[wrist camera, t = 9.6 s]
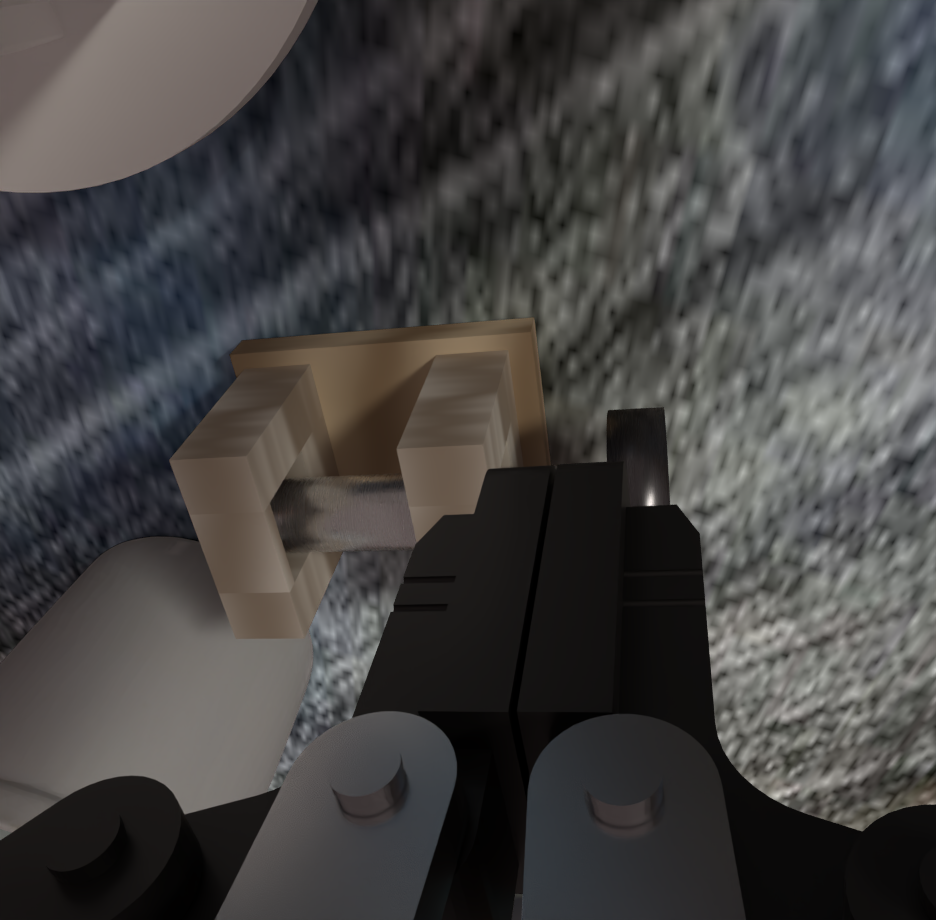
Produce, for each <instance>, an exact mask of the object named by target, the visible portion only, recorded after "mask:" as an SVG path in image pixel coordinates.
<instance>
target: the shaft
mask: <svg viewBox="0 0 936 920" xmlns="http://www.w3.org/2000/svg"><path fill="white" fill-rule="evenodd" d="M614 461H625V464H626V470H627V477H628V487H629V498H630V507H633V506H656V505H670V495H669V476H668V457H667V441H666V425H665V413H664V407H657V408H640V409H622V410H608V413H607V462H614ZM554 467H555V469H557V466H554ZM270 505H271V508H272V511H273V515H274V518H275V521H276V524H277V527H278V531H279V534H280V537H281V540H282V543H283V546H284V550H285V553H308V552H347V551H387V550H414V547H415V544H416V543H417V541H416V537H415V532H414V527H413V523H412V518H411V513H410V509H409V504H408V500H407V495H406V490H405V486H404V481H403V477H402V473H395V474H372V475H349V476H326V477H304V478H284V480H283V482H282V483H281V485H280V487H279V488H278V490H277V492H276V493H275V495H274V497H273V498H272V500H271V502H270Z"/></svg>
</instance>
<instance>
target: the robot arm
mask: <svg viewBox="0 0 936 920" xmlns="http://www.w3.org/2000/svg"><path fill="white" fill-rule="evenodd" d="M515 894H523V902H522V920H936V805H919V806H912V807H906V808H903V809H900V810H897V811H894V812H891V813H888V814H886V815H885V816H883V817H881V818H879V819H877V820H876V821H874V822H873V823H872V824H871V825H869V826H868V827H867V828H866V829H865V830H864V831H863V832H862V831H859V830H855V829H852V828H849V827H846V826H843V825H840V824H836V823H833V822H830V821H827V820H824V819H820V818H817V817H814V816H811V815H808V814H805V813H802V812H800V811H797V810H794V809H792V808H789V807H787V806H785V805H783V804H781V803H779V802H777V801H775V800H773V799H772V798H770V797H768V796H767V795H765V794H764V793H762V792H761V791H760V790H758V789H757V788H755V787H754V786H753V785H752V784H751V783H749V782H748V781H747V780H746V779H745V778H744V777H743V776H742V775H741V774H740V773H739V772H738V771H737V770H736V768H735V767H734V766H733V765H732V764H731V762H730V761H729V759H728V757H727V756H726V754H725V752H724V751H723V749H722V746H721V744H720V741H719V739H718V736H717V731H716V725H715V716H714V704H713V692H712V679H711V667H710V655H709V643H708V630H707V618H706V606H705V594H704V582H703V570H702V557H701V545H700V533H699V532H698V531H697V530H696V528H695V527H694V526H693V525H692V523H691V522H690V521H689V520H688V518H687V517H686V516H685V515H684V513H683V512H682V511H681V510H680V508H679V507H678V506H677V505H656V506H633V507H630V498H629V487H628V477H627V470H626V464H625V461H614V462H596V463H578V464H560V465H558V466H557V469H555V467H554V465H547V466H529V467H511V468H494V469H488V470H487V472H486V474H485V477H484V481H483V484H482V488H481V491H480V495H479V498H478V502H477V505H476V509H475V512H474V514H458V515H443V516H442V517H441V518H440V520H439V521H438V522H437V523H436V524H435V525H434V526H433V527H432V528H431V529H430V530H429V531H428V532H427V533H426V534H425V535H424V536H423V537H422V538H421V539H420V540H419V541H418V542H417V543H416V544H415V547H414V550H413V552H412V555H411V558H410V561H409V563H408V566H407V569H406V572H405V574H404V584H401V585H400V588H399V591H398V594H397V596H396V599H395V602H394V612H391V613H390V616H389V618H388V621H387V624H386V627H385V629H384V632H383V635H382V638H381V640H380V643H379V646H378V648H377V651H376V654H375V657H374V659H373V662H372V665H371V668H370V670H369V673H368V676H367V679H366V681H365V684H364V687H363V690H362V692H361V695H360V698H359V701H358V703H357V706H356V709H355V712H354V714H353V717H352V718H351V719H349V720H346V721H344V722H341V723H340V724H338V725H336V726H334V727H332V728H330V729H329V730H327V731H326V732H324V733H323V734H322V735H320V736H319V737H317V738H316V739H315V740H314V741H313V742H312V743H311V744H310V745H309V746H307V747H306V748H305V750H304V751H303V752H302V753H301V754H300V756H299V757H298V758H297V759H296V761H295V762H294V764H293V766H292V767H291V769H290V771H289V773H288V775H287V777H286V779H285V781H284V783H283V785H282V787H279V788H277V789H275V790H272V791H269V792H266V793H263V794H260V795H257V796H253V797H249V798H245V799H241V800H238V801H234V802H230V803H226V804H222V805H218V806H215V807H211V808H207V809H203V810H199V811H196V812H192V813H188V814H184V812H183V810H182V808H181V806H180V804H179V803H178V801H177V799H176V797H175V795H174V794H173V792H172V791H171V790H170V789H169V788H168V787H167V786H166V785H164V784H163V783H161V782H159V781H157V780H155V779H152V778H148V777H145V776H133V775H131V776H119V777H114V778H109V779H105V780H102V781H99V782H96V783H93V784H90V785H88V786H86V787H84V788H81V789H79V790H77V791H75V792H73V793H72V794H70V795H68V796H67V797H65V798H63V799H62V800H60V801H58V802H57V803H55V804H54V805H52V806H51V807H49V808H48V809H46V810H45V811H43V812H42V813H40V814H39V815H37V816H36V817H34V818H33V819H31V820H30V821H28V822H27V823H25V824H24V825H22V826H21V827H19V828H18V829H16V830H15V831H13V832H12V833H10V834H9V835H7V836H6V837H4V838H3V839H1V840H0V920H512V912H513V905H514V898H515Z"/></svg>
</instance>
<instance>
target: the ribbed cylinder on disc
mask: <svg viewBox="0 0 936 920" xmlns="http://www.w3.org/2000/svg"><path fill="white" fill-rule="evenodd" d="M317 2H318V0H0V191H6V192H18V193H46V192H59V191H71V190H76V189H82V188H88V187H94V186H98V185H102V184H106V183H109V182H113V181H116V180H120V179H123V178H126V177H128V176H131V175H134V174H136V173H139V172H141V171H144V170H147V169H149V168H151V167H153V166H155V165H157V164H159V163H161V162H163V161H165V160H167V159H169V158H171V157H173V156H174V155H176V154H178V153H180V152H182V151H184V150H185V149H187V148H189V147H190V146H192V145H194V144H195V143H197V142H198V141H200V140H201V139H203V138H205V137H206V136H208V135H209V134H211V133H212V132H213V131H215V130H216V129H217V128H218V127H220V126H221V125H222V124H224V123H225V122H226V121H227V120H229V119H230V118H231V117H232V116H233V115H234V114H236V113H237V112H238V111H239V110H240V109H241V108H242V107H243V106H244V105H245V104H246V103H247V102H248V101H249V100H250V99H251V98H252V97H253V96H254V95H255V94H256V93H257V92H258V91H259V89H260V88H261V87H262V86H263V85H264V84H265V83H266V82H267V80H268V79H269V78H270V77H271V76H272V74H273V73H274V72H275V70H276V69H277V68H278V66H279V65H280V64H281V62H282V61H283V60H284V58H285V57H286V55H287V54H288V53H289V51H290V50H291V48H292V46H293V45H294V43H295V42H296V40H297V38H298V37H299V35H300V33H301V32H302V30H303V28H304V27H305V25H306V23H307V21H308V19H309V17H310V15H311V13H312V12H313V10H314V8H315V6H316V4H317Z"/></svg>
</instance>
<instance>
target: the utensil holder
mask: <svg viewBox="0 0 936 920" xmlns="http://www.w3.org/2000/svg"><path fill="white" fill-rule="evenodd" d="M312 666H313V646H312V640H311V636H310V633H309V630H308V632H307V634H306V637H305V639H236V638H235V636H234V633H233V630H232V628H231V625H230V622H229V620H228V617H227V614H226V611H225V609H224V606H223V603H222V601H221V598H220V595H219V593H218V590H217V587H216V585H215V582H214V579H213V577H212V574H211V571H210V569H209V566H208V563H207V561H206V558H205V555H204V553H203V550H202V547H201V544H200V542H198V541H194V540H189V539H184V538H177V537H146V538H140V539H134V540H130V541H126V542H123V543H121V544H118V545H116V546H114V547H112V548H110V549H109V550H107V551H106V552H104V553H103V554H101V555H100V556H99V557H98V558H97V559H96V560H95V561H94V562H93V563H92V564H91V565H90V566H89V567H88V568H87V569H86V570H85V571H84V572H83V573H82V575H81V576H80V577H79V578H78V579H77V580H76V581H75V582H74V583H73V584H72V585H71V586H70V588H69V589H68V590H67V591H66V592H65V593H64V594H63V595H62V596H61V597H60V598H59V599H58V601H57V602H56V603H55V604H54V605H53V606H52V607H51V608H50V609H49V610H48V611H47V612H46V614H45V615H44V616H43V617H42V618H41V619H40V620H39V621H38V622H37V623H36V625H35V626H34V627H33V628H32V629H31V630H30V631H29V632H28V633H27V634H26V635H25V637H24V638H23V639H22V640H21V641H20V642H19V643H18V644H17V645H16V647H15V648H14V649H13V650H12V651H11V652H10V653H9V654H8V656H7V657H6V658H5V659H4V660H3V661H2V663H1V664H0V840H1V839H3V838H4V837H6V836H7V835H9V834H10V833H12V832H13V831H15V830H16V829H18V828H19V827H21V826H22V825H24V824H25V823H27V822H28V821H30V820H31V819H33V818H34V817H36V816H37V815H39V814H40V813H42V812H43V811H45V810H46V809H48V808H49V807H51V806H52V805H54V804H55V803H57V802H58V801H60V800H62V799H63V798H65V797H67V796H68V795H70V794H72V793H73V792H75V791H77V790H79V789H81V788H84V787H86V786H88V785H90V784H93V783H96V782H99V781H102V780H105V779H109V778H114V777H119V776H131V775H133V776H145V777H148V778H152V779H155V780H157V781H159V782H161V783H163V784H164V785H166V786H167V787H168V788H169V789H170V790H171V791H172V792H173V794H174V795H175V797H176V799H177V801H178V803H179V804H180V806H181V808H182V810H183V812H184V814H188V813H192V812H196V811H199V810H203V809H207V808H211V807H215V806H218V805H222V804H226V803H230V802H234V801H238V800H241V799H245V798H249V797H253V796H257V795H260V794H263V793H266V792H267V790H268V788H269V786H270V783H271V781H272V779H273V776H274V774H275V771H276V769H277V766H278V764H279V761H280V759H281V756H282V753H283V751H284V748H285V746H286V743H287V740H288V738H289V735H290V732H291V730H292V727H293V724H294V721H295V719H296V716H297V713H298V710H299V707H300V705H301V702H302V700H303V697H304V694H305V691H306V688H307V685H308V682H309V679H310V676H311V672H312Z"/></svg>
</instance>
